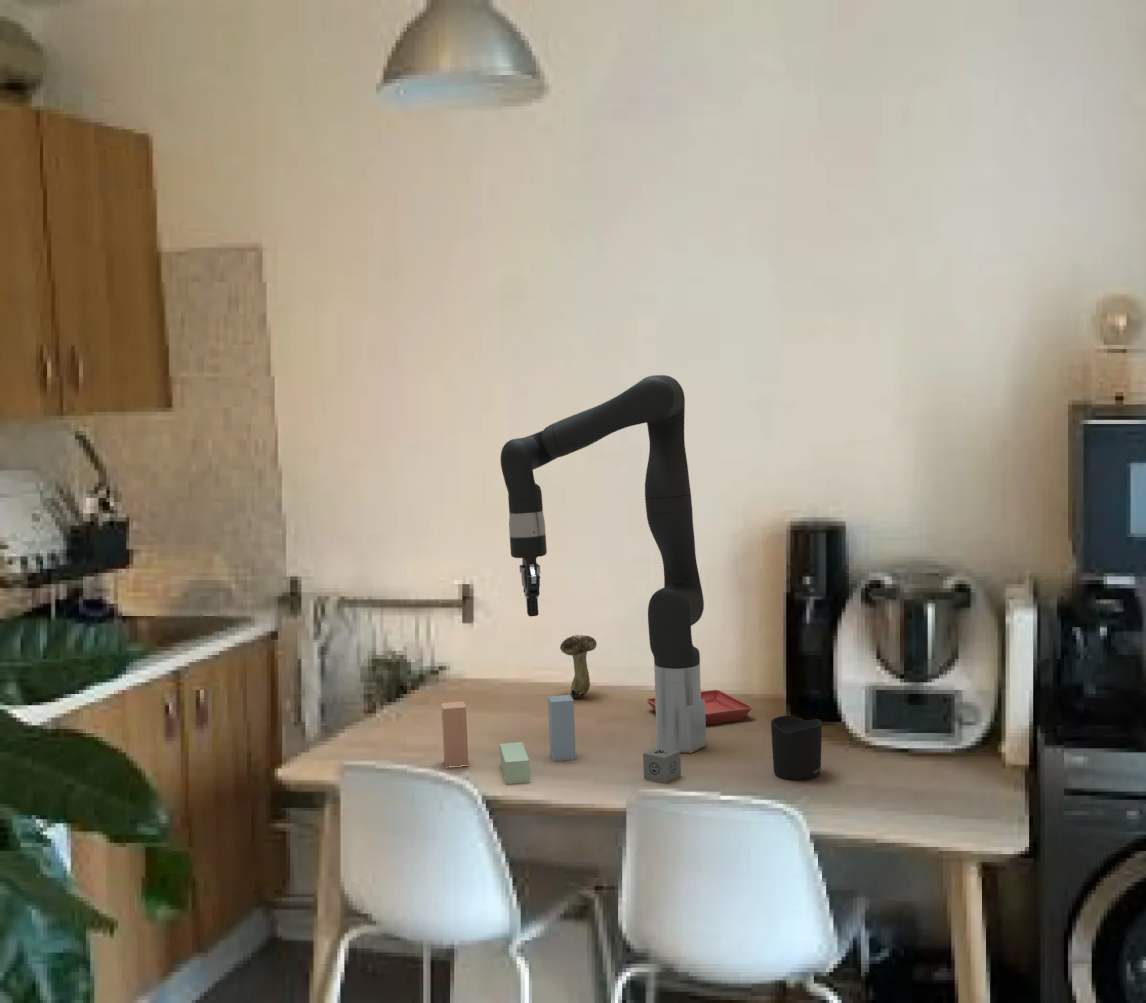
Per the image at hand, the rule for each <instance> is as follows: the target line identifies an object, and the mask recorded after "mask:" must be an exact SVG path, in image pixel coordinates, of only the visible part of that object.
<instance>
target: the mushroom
mask: <svg viewBox="0 0 1146 1003" xmlns="http://www.w3.org/2000/svg"><path fill="white" fill-rule="evenodd" d="M597 645H598V643H597V641H596V639H595V638H594V637H592V636H590V635H583V634H580V635H579V634H578V635H572V636H569V637H567V638H566V639H564V640H563V641H562V642H561V643H560V647H559V648H560V651H561V652H562V653H563V654H565V655H566V656H572V659H573V660H572V661H573V669H574V677H573V679H572V681H571V685H570V690H571V693H570V695H571V697H572V698H574V699H583V698H584V696H585V695H586V694H587V693H588V691H589V690H590V687H591V682H590V679H591V678H590V672H589V669H588V663H587V656H588V655H587V654H588V652H592V651H594V650H595V648H596V647H597Z"/></svg>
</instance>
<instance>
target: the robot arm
mask: <svg viewBox="0 0 1146 1003" xmlns="http://www.w3.org/2000/svg"><path fill="white" fill-rule="evenodd" d="M685 403H686V398H685V393H684V390H683V387H682V386H681V384H680V382H679V381H678V380H676V379H675V378H673V377H672V376H670V375H664V374H661V375H660V374H658V375H657V374H656V375H649V376H646V377H644V378H642V379H641V380H639V381H638V382H637V383H635V384H633V385H632V386H631V387H629V388H628V389H626V390H624V391H623V392H622V393H620V394H618V395H617V396H615V397H613V398H611V399H609V400H607V401H605V402H602V403H600V404H598V405H597V406H594V407H591V408H588V409H586V410H584V411H580V412H579V413H575V414H573V415H570V416H568V417H566V418H562V419H560V420H558V421H556V422H554V423H552V424H549V425H548V426H546V427H545V428H544V429H543V430H540V431H538V432H535V433H533V434H530V435H527V436H524V437H520V438H518V437H517V438H512V439H510V440H508V441H507V442H505V443H504V445H503V446H502V448H501V452H500V467H501V472H502V476H503V480H504V483H505V487H506V490H507V494H508V495H507V496H508V498H507V499H508V512H509V515H508V518H509V520H508V530H509V531H508V532H509V533H508V534H509V548H510V556H511V557H512V558H514V559H522V562H521V564H520V565H519V572H520V577H521V585H522V588H523V594H524V597H525V599H526V613H527V615H528V617H537V616H539V601H538V599H539V597H540V587H541V583H540V582H541V580H540V579H541V575H540V574H541V565H540V564H539V563H537V562H538V561H537V558H538V557H544V556H546V555H547V552H548V549H547V548H548V547H547V534H546V523H545V522H546V521H545V517H544V516H545V515H544V511H543V510H544V509H543V508H544V506H543V494H542V489H541V486H540V485H539V484H537V483H536V481H535V477H534V470H536V469H538V468H541V467H543V466H545V465H547V464H549V463H550V462H552V461H554V460H556V459H557V458H562V457H564V456H568V455H570V454H572V453H575V452H578V451H580V450H582V449H584V448H586V447H588V446H591V445H593V444H594V443H596V442H598V441H600V440H602V439H603V438H605V437H608V436H609V435H611V434H613V433H615V432H618V431H620V430H622V429H626V428H629V427H632V426H633V427H634V426H637V425H638V426H639V425H642V424H646V425H647V426H646V427H647V431H648V438H649V440H648V441H649V442H648V443H649V454H648V460H647V467H646V471H645V481H644V500H645V502H644V503H645V512H646V519H647V523H648V527H649V530H650V532H651V534H652V537H653V539H654V541H655V544H656V546H657V547H658V548H657V549H658V550H659V552H660V555H661V560H662V564H663V578H664V580H663V581H664V583H663V584H664V585H663V586H664V587H661V588H660V589H657V591H655V592H654V593H653V594H652V596H650V599H649V602H648V607H647V624H648V636H649V638H648V639H649V647H650V651H651V653H652V655H653V656H652V657H653V660H654V661H653V664H654V672H653V673H654V698H655V706H656V711H655V731H656V737H655V738H656V748H657V747H662V748H667V749H672V750H677V751H680V754H681V753H687V754H688V753H689V754H692V753H694V752H696V751H698V750H700V749H702V748H704V747H706V746H707V731H706V730H707V727H706V726H707V725H706V718H705V700H703V699H701V692H702V690H701V686H702V685H701V657H700V656H701V655H700V650H699V648H698V647H696V646H694V644H693V638H692V626H693V625H695V624H696V623H698V621H700V619H701V618H702V617H703V616H702V615H703V612H704V608H705V602H704V594H703V588H702V583H701V579H700V573H699V569H698V564H697V556H696V541H695V531H694V516H693V503H692V492H691V485H690V476H689V475H690V474H689V467H688V465H689V464H688V460H687V459H688V458H687V452H686V445H685V444H686V443H685V412H686V410H685Z"/></svg>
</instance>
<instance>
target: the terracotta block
mask: <svg viewBox="0 0 1146 1003" xmlns="http://www.w3.org/2000/svg"><path fill="white" fill-rule="evenodd" d="M440 704H441V724H442V744H443V763H444V762H445V763H444V767H445V766H446V767H449V766H461V765H469V746H468V726H467V706H466V704H465V701H450V702H442V703H440ZM446 767H445V768H446Z"/></svg>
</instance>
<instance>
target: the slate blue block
mask: <svg viewBox="0 0 1146 1003" xmlns="http://www.w3.org/2000/svg"><path fill="white" fill-rule="evenodd" d="M574 701H575V700H574V699H573V697H572V695H571V694H564V695H563V694H562V695H551V696H547V708H548V709H547V711H548V733H549V734H548V735H549V736H548V738H549V739H548V741H549V755H550V757H551V759H552V761H553V762H561V761H563V762H564V761H571V760H573V761H575V760H577V757H576V756H577V754H576V751H577V750H576V730H575V726H576V725H575V703H574Z"/></svg>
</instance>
